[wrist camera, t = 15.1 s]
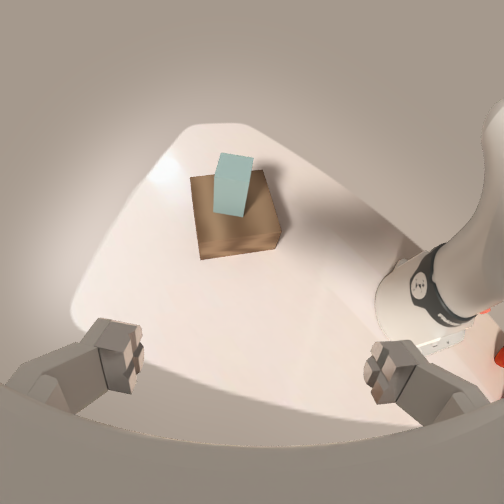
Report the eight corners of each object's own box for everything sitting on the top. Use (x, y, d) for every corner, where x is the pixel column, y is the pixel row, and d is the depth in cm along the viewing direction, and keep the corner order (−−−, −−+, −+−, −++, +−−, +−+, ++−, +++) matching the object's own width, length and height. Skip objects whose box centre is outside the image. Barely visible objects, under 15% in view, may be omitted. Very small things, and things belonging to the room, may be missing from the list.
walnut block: (258, 191, 52) (262, 169, 47) (274, 250, 47) (281, 231, 42) (192, 199, 50) (190, 177, 44) (200, 260, 45) (198, 242, 39)
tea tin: (246, 193, 44) (253, 157, 37) (242, 217, 42) (249, 182, 35) (218, 189, 44) (220, 152, 37) (213, 212, 42) (214, 176, 35)
